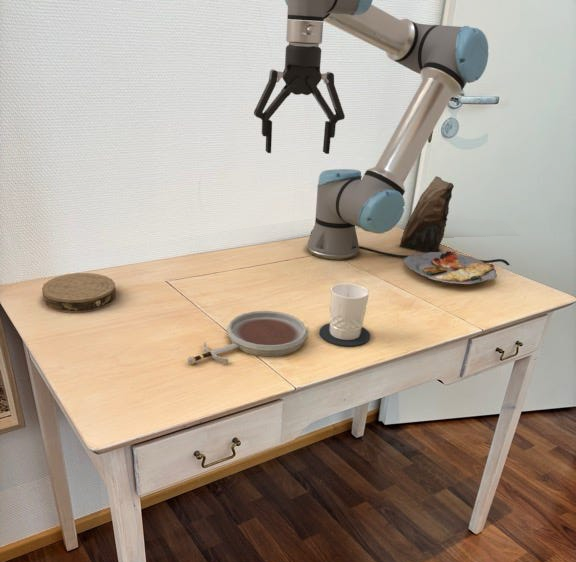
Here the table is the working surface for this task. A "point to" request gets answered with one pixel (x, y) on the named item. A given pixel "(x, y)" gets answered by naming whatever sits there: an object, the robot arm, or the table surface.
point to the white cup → (347, 310)
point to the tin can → (79, 292)
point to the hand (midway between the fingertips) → (297, 152)
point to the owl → (428, 218)
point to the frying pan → (261, 335)
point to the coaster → (331, 339)
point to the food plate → (450, 267)
